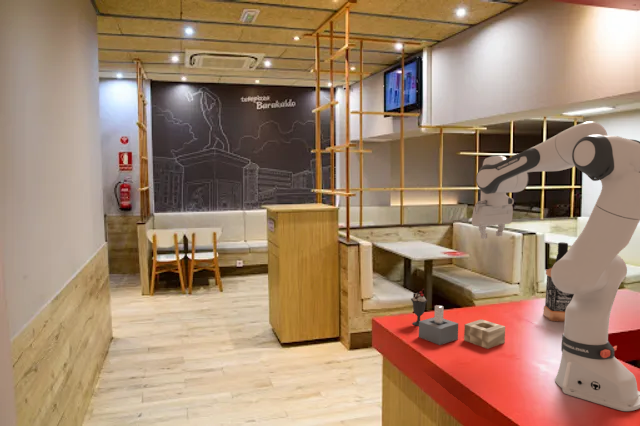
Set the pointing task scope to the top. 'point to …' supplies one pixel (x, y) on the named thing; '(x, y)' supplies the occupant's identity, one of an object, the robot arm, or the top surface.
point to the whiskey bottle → (556, 293)
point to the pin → (438, 315)
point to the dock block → (438, 331)
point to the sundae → (418, 305)
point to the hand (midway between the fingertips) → (491, 237)
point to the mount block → (484, 333)
